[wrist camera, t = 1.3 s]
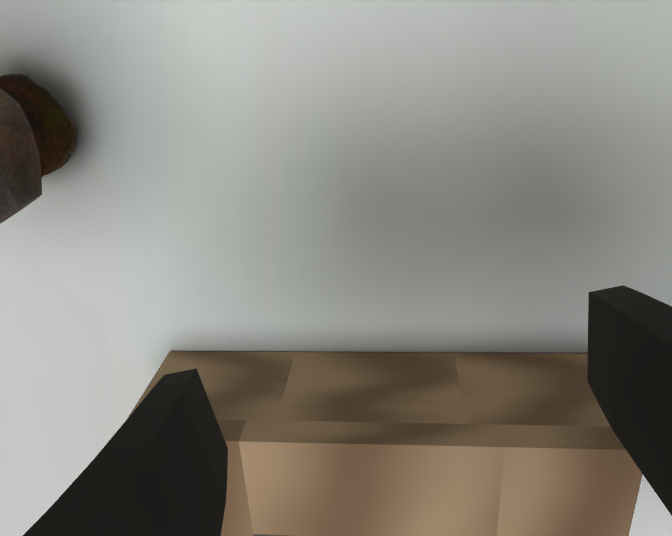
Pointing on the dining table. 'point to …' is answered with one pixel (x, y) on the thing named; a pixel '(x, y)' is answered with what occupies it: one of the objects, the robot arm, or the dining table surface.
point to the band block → (413, 444)
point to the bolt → (29, 141)
